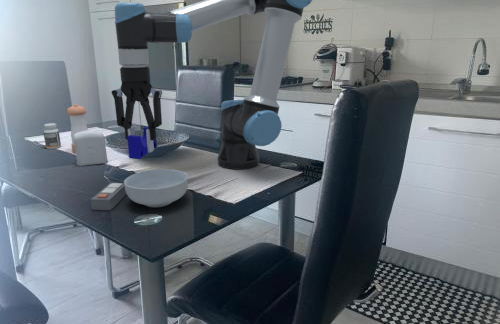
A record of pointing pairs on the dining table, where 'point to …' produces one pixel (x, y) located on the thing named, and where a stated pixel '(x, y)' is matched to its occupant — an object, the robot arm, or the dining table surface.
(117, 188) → the power strip
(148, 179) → the cereal bowl
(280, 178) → the dining table surface
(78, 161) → the photo printer
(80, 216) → the dining table surface
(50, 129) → the pill bottle
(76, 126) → the pepper shaker
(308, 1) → the robot arm
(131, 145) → the blue bridge block
